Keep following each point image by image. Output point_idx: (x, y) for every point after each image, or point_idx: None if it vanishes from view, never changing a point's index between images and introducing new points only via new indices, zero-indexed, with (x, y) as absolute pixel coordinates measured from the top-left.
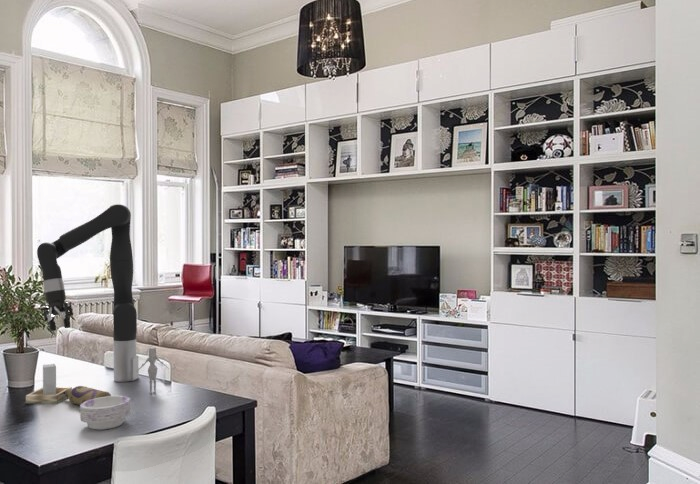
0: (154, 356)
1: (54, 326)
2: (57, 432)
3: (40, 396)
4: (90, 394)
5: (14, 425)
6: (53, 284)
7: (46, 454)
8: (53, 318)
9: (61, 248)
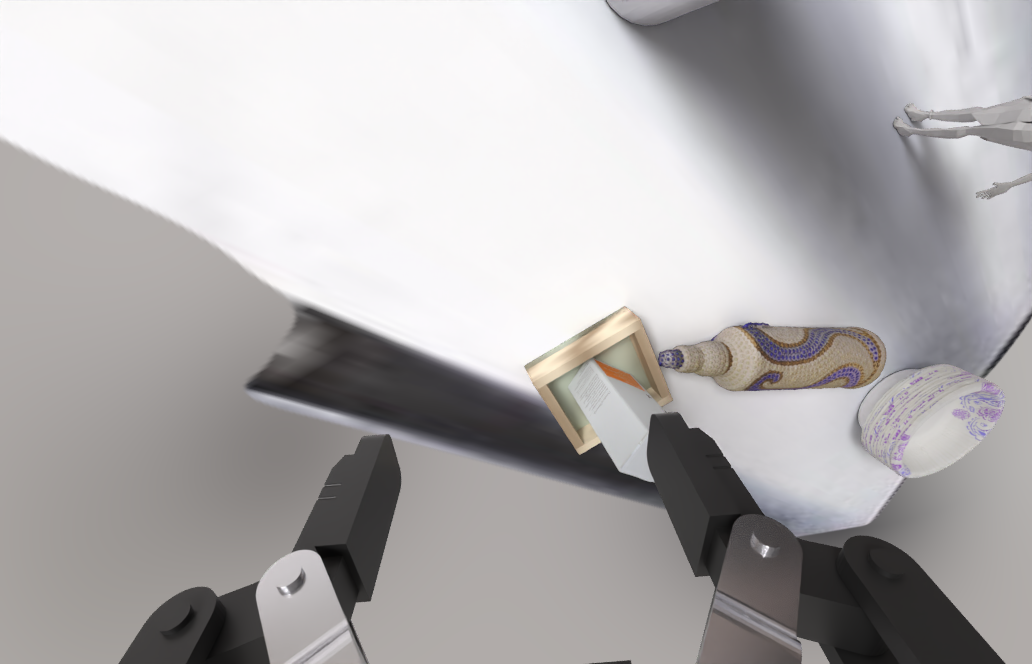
0: None
1: (376, 485)
2: (813, 468)
3: None
4: (835, 385)
5: None
6: None
7: (855, 510)
8: (317, 621)
9: None
